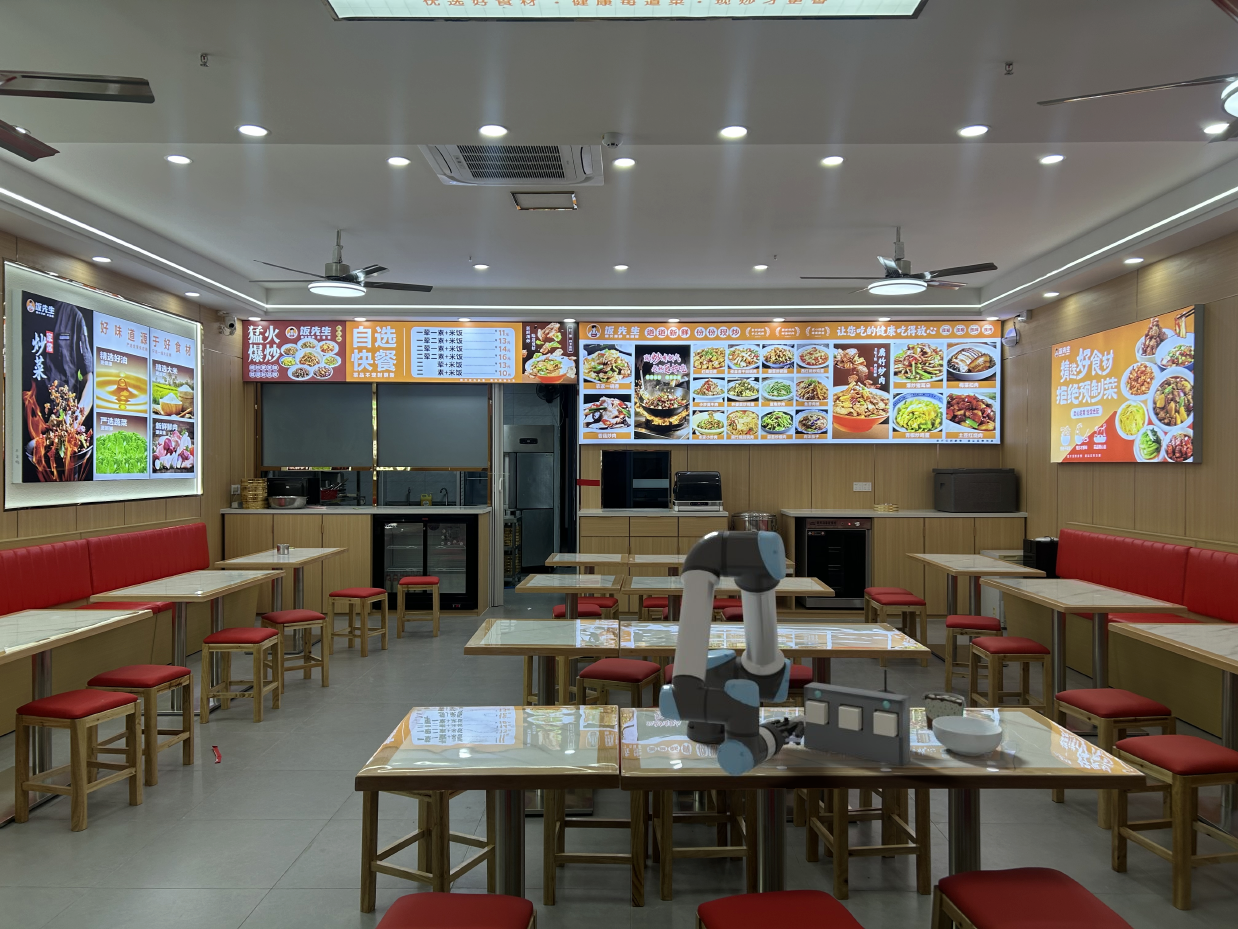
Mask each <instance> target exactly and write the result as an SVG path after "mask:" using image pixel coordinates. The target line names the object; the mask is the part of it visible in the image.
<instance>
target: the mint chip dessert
mask: <svg viewBox="0 0 1238 929" xmlns="http://www.w3.org/2000/svg"><path fill="white" fill-rule="evenodd" d="M921 701H923V704H924V713H925V724H926V730H931V731H933V727H932V723H933V720H934V719H936V718H939V717H945V716H963V717H964V711H965V709H966V708H967V707H968V706H967V704H966V702H967V701H966V699H965V697H964V696H962V695H959V694H957V693H952V692H942V691H941V692H940V691H928V692H924V693H923V695H922V697H921Z"/></svg>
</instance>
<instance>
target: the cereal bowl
mask: <svg viewBox="0 0 1238 929" xmlns="http://www.w3.org/2000/svg"><path fill="white" fill-rule="evenodd" d="M932 727H933V730H932V733H933V735H934V737H935V739H936V740H937V741H938V743H939V744H941V746H943V747H946V748H947V749H950V751H951V752H953V753H955V754H958V755H961V756H969V757H978V756H982V755H983V754H987V753H990V752H993V751H995V750H996V749H998V748H999V746H1000V745H1001V743H1002V739H1003V729H1002V726H1000V725H998V724H997V723H995V722H992V721H989V720H985V719H981V718H976V717H971V716H964V715H963V716H945V717H939V718H936V719H934V720H933V723H932Z"/></svg>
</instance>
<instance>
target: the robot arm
mask: <svg viewBox="0 0 1238 929" xmlns="http://www.w3.org/2000/svg"><path fill="white" fill-rule="evenodd" d="M786 561H787V560H786V551H785V546H784V541H783V539H782V537H781V535H780V534H778V532H774V531H765V530H759V531H747V530H746V531H745V530H743V531H742V530H739V531H738V530H723V529H722V530H715V531H711V532H709V533H707V534H705V535H704V536H702V537H701V538H700V539H699V540H698V541H697V542H695V543H694V545H693V546H692V547H691V548H690V550H689V551H688V553H687V555H686V557H685V559H684V561H683V564H682V567H681V573H680V581H681V583H682V584H683V589H682V590H683V591H682V597H681V606H680V613H679V622H678V630H677V637H676V639H677V640H676V643H675V653H674V661H673V667H672V668H673V669H672V677H671V678H672V679H671V683H669V684H663V685H662V687H660V692H659V699H658V706H659V707H658V708H659V713H660V715H661V716H662V718H664V719H667V720H673V721H679V722H683V721H685V722H687V724H686V736H687V738H689V739H690V740H693V741H695V742H699V743H700V742H701V743H705V744H706V743H708V744H720V745H719V747H718V748H717V752H716V760H717V762H718V765H719V767H720V768H721V770H722V771H724V772H725V773H726V774H727V775H730V776H735V777H736V776H737V777H738V776H741V775H743V774H746V773H749V772H751V771H752V770H753V769H755V768H756V767H757V766H759V765H761V764H762V763H764V762H766V761H767V760H769V759H771V758H773V757H775V756H776V755H778V754H779V753H780V752H781V751H782V750H783V747H784V746H787V745H789V744H790V743H792V744H794V745H795V746H801V744H802V739H804V727H805V715H804V714H798V715H797V716H794V717H793V718H790V719H789V717H786V716H785V717H783V720H781V719H775V720H771V721H768V722H763V723H760V712H761V711H760V709H761V708H760V707H761V702H762V703H770V704H773V703H783V702H785V701H786V700H787V699H788V692H789V691H788V690H789V685H790V677H791V676H790V675H791V666H792V665H791V664H792V663H791V660H790V659H788V658H785V655H784V653H783V651H782V650H781V649H780V648H779V637H778V633H779V632H778V619H777V602H776V598H777V597H776V589H777V587H778V586H779V585H780V583H781V580H783V579H785V577H786V575H787V562H786ZM721 578H730V579H731V578H733V581H734V585H735V586H736V587H737V588H738V590H740V593H741V604H742V606H741V607H742V615H743V616H742V617H743V628H744V631H743V632H744V639H745V641H744V642H745V650H744V651H743V652H742V655H741V656H740V655H739V656H737V653H736V651H735V650H734V649H729V648H728V649H727V648H722V649H713V650H709V648H710V639H711V638H710V637H711V628H712V617H713V608H714V599H715V589H716V588H717V587H719V586H720V580H721Z"/></svg>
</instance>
